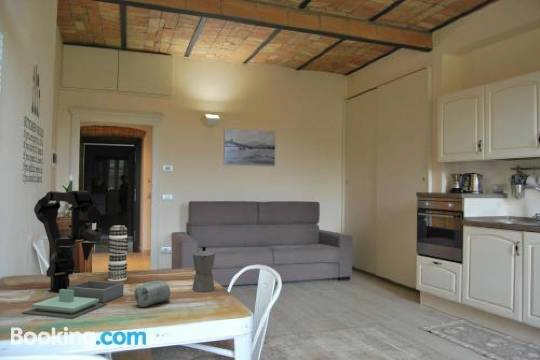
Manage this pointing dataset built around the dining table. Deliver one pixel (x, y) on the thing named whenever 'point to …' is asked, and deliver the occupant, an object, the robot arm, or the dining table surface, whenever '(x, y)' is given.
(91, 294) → the tub
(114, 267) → the decorative candle
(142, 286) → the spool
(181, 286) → the dining table surface
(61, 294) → the lid
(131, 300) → the dining table surface
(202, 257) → the coffeepot
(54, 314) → the mat
